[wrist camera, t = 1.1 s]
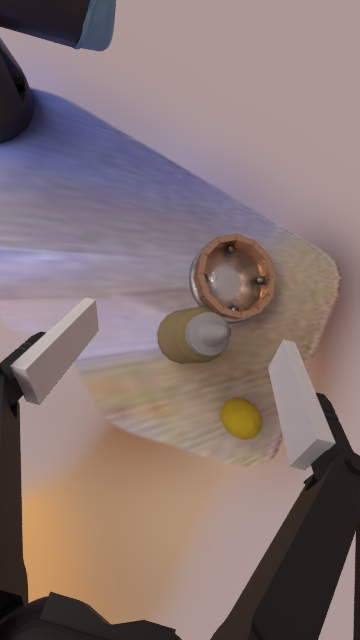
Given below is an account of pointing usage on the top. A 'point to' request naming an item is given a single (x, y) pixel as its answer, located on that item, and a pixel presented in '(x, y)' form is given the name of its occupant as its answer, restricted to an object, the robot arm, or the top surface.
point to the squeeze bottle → (193, 335)
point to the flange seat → (233, 277)
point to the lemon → (241, 418)
